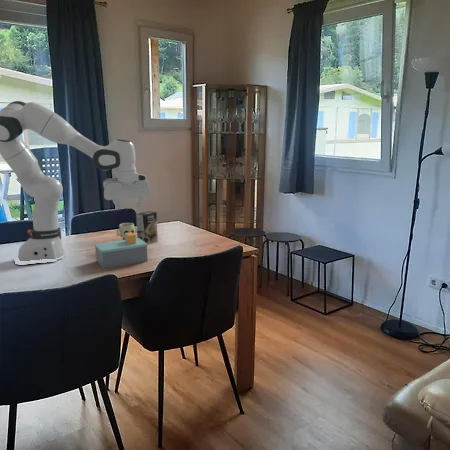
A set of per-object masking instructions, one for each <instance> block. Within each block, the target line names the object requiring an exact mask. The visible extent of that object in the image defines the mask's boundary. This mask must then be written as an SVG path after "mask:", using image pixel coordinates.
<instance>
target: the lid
mask: <svg viewBox="0 0 450 450" xmlns="http://www.w3.org/2000/svg"><path fill="white" fill-rule="evenodd" d="M136 236H137V234H136V233H135V234H133V233H132V232H128V233H125V240H122V239H120V240H113V241H107V242H106V241H105V242H100V243H95V244H94V247H96V248H97V249H98V250H99V251H100V252H102V253H105V252H112V251H118V250H125V249H131V248H138V247H144V246H147V247H148V245H147V243H145V242H144V241H142V240H141V239H139V238H137V237H136Z"/></svg>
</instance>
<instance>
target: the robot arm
mask: <svg viewBox="0 0 450 450" xmlns="http://www.w3.org/2000/svg"><path fill="white" fill-rule="evenodd" d="M25 130H30V131H32V132H34V133H36V134H37V135H39V136H41V137H43V138H44V139H46V140H48V141H50V142H53V143H55V144H61V145H67V146H71V147H73V148H75V149H76V150H78V151H80V152H82V153H83V154H85V155H86V156H88V157H90V158H91V159H92V164H93V165H94V167H95V168H96V169H97V170H100V171H104V172H105V171H109V170H114V169H115V177H112V178H109V177H108V178H106V179H105V180H103V182H102V185H103V186H102V187H103V189H104V190H103V197H104V199H105V200H107V201H112V202H113V204H114V206H115V210H121V205H120V204H118V203H117V202H118V200H123V199H124V200H125V199H132V198H133V199H134V198H135V199H136V198H138V201H137V202H136V203H135V204H136V205H135V206H136V207H137V208H140V207H142V202H143V200H144V198H145V197H150V195H151V187H150V182H149V181H148V176H147V175H145V174H144V173H143V174H142V173H139V172H137V168H136V159H137V158H136V150H135V149H136V148H135V145H134V143H133V142H132V141H130V140H127V139H115V140H114V141H113V142H111V143H110V144H108V145H101V144H98V143H96V142H94V141H92V140H91V139H89V138H87V137H85V136H84V135H83V134H82V133H80V132H79V131H78V130H76V129H75V128H74V127H73V125H71V124H70V123H69V122H68V120H67V121H66V120H65V119H64V118H63V117H62V116H61V115H59V114H58V113H56V112H55V111H53V110H51V109H50V108H47V107H46V106H43V105H41V104H39V103H37V102H33V101H30V102H28V103H26V102H25V101H21V100H16V101H15V100H13V101H12V102H10V103H9V104H7V105H6V106H4V107H3V108H1V110H0V156H1V157H2V159H3V161H5V163H6V164H7V165H8V167H10V169H11V170H12V171H13V173H14V174H15V175H16V177H17V179H18V182H19V183H20V185H21V186H22V190H23V191H24V192H25V193H26V195H28V196H29V197H31V198H34V207H33V210H32V212H31V218H32V224H33V225H32V227H33V229H28V230H27V234H29V238H28V239H27V240H26V241H25V242H24V243H23V244H21V245H20V247H19V249H18V254H17V255H18V258H19V260H20V261H30V260H40V259H41V260H42V259H56V258H59V257H61V256H63V255H64V254H65V255H66V252H65V250H64V247H63V243H62V230H61V227H60V223H59V204H60V198H61V196H62V195H63V192H64V188H63V184H62V183H61V181H59V180H58V179H56V177H53V176H49V175H46V174H44V173H43V171H42V170H41V167H40V165H39V161H38V158H37V157H36V156H35V155H34V153H33V152H32V150H31V149H30V148H29V147H28V145H27V144H26V142H25V141H24V140H23V139H22V136H21V135H22V134H23V132H24V131H25ZM143 197H144V198H143Z"/></svg>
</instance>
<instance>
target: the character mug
mask: <svg viewBox="0 0 450 450" xmlns="http://www.w3.org/2000/svg"><path fill="white" fill-rule="evenodd" d="M118 227H119V229H116V236H117V237H119V236H120V238H122V239H121V240H125V233H128V232H132V233H133V234H135V235H136V233H137V225H136V226H135V224H134V223H133V222H122V223H120V224H119V225H118Z"/></svg>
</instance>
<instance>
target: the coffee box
mask: <svg viewBox="0 0 450 450" xmlns="http://www.w3.org/2000/svg"><path fill="white" fill-rule="evenodd" d="M135 216H136V217H135V218H136V227H137V234H136V236H137V237H136V238H139V239H141V240H142V241H144V242H145V243H147V246H149V245H151V244H155V243H158V242H159V241H158V239H159V238H158V237H159V235H158V213H157V212H156V211H149V210H148V211H143V212H138V213H136V214H135Z"/></svg>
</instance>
